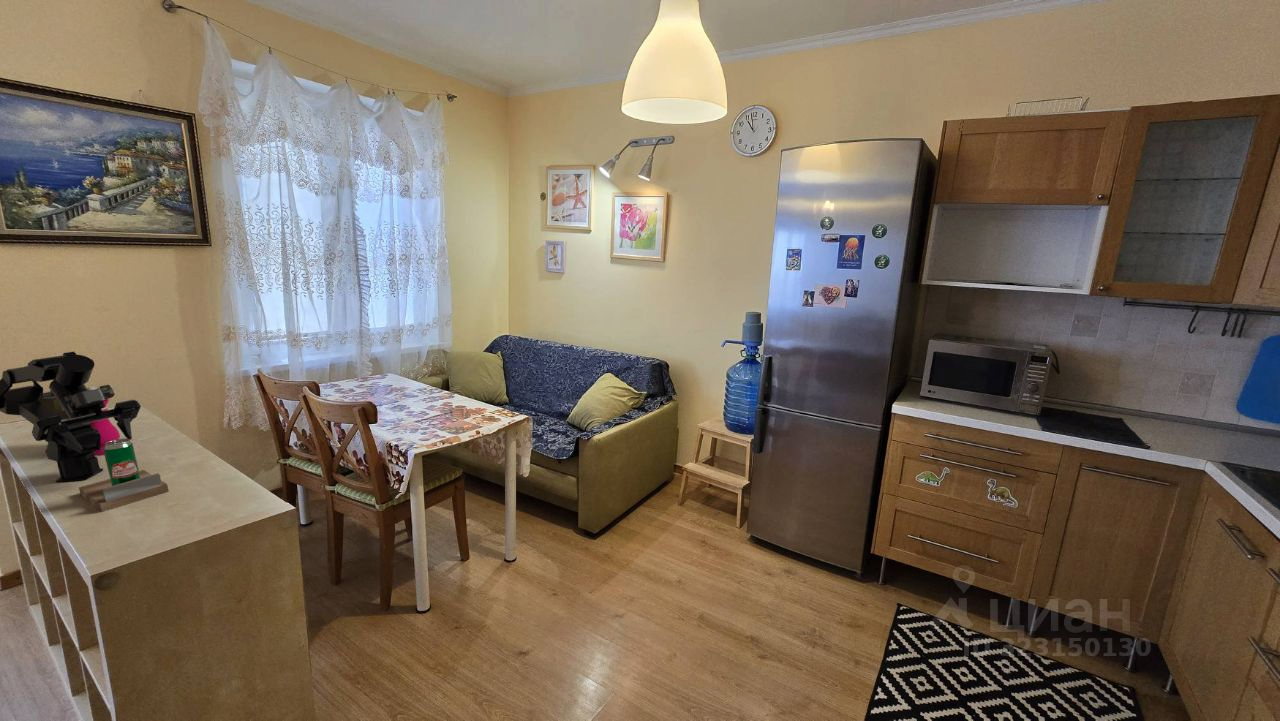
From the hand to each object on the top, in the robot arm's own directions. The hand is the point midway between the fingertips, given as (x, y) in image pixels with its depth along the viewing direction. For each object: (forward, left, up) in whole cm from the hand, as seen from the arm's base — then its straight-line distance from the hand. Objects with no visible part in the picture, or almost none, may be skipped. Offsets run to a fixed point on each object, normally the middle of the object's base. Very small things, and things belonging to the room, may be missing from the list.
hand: (106, 445), depth 129 cm
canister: (-31, +35, -12) cm, 48 cm away
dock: (+4, -3, -12) cm, 13 cm away
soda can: (+6, -6, -10) cm, 13 cm away
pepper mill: (-20, +30, -12) cm, 38 cm away
